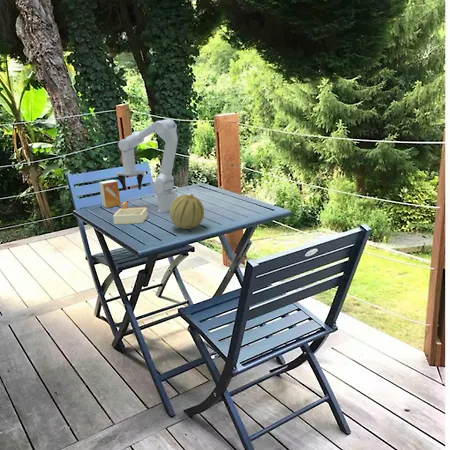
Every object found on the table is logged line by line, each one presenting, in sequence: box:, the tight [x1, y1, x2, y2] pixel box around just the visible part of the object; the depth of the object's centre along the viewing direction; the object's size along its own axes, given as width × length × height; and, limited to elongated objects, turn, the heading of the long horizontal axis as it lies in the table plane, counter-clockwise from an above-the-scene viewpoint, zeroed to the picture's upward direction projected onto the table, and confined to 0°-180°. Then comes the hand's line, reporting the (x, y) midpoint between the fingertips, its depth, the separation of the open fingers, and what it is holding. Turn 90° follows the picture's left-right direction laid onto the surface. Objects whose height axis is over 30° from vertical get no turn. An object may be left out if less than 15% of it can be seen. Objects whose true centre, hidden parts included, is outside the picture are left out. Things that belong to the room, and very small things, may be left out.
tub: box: [112, 207, 149, 225], centre depth 214 cm, size 13×11×4 cm
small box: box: [98, 179, 121, 209], centre depth 243 cm, size 8×6×13 cm
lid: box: [112, 201, 147, 217], centre depth 228 cm, size 14×12×5 cm
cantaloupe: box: [168, 193, 205, 230], centre depth 197 cm, size 15×15×15 cm
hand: (132, 189), depth 235 cm, fingers open, 7 cm apart
